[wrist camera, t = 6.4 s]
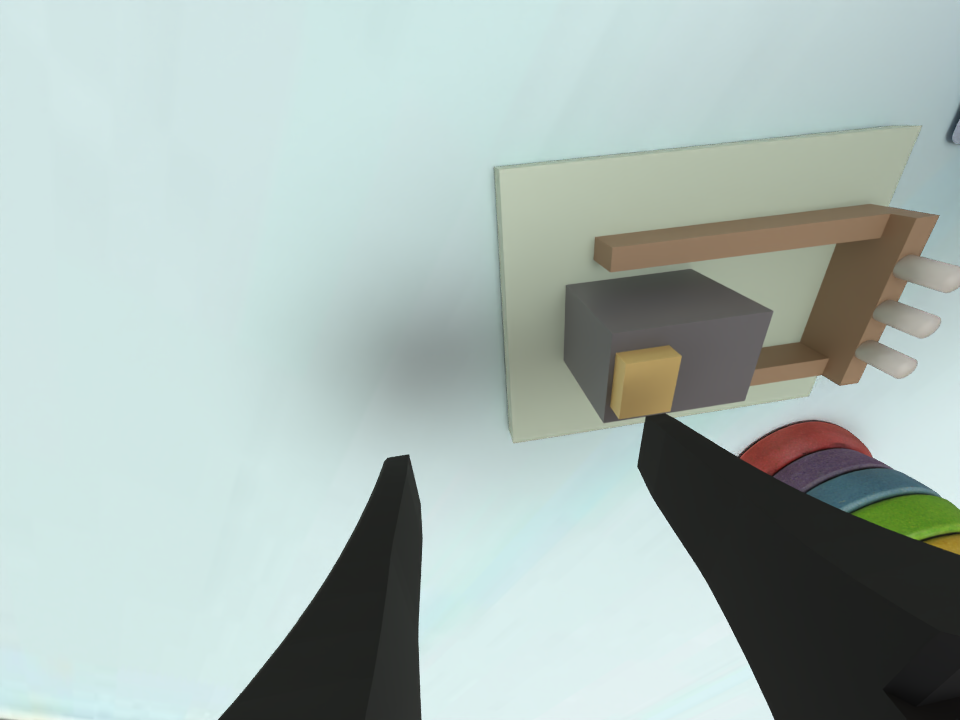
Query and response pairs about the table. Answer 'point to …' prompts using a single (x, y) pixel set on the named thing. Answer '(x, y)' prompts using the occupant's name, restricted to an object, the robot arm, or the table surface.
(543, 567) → the table surface
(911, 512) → the stacking bear
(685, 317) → the plug block
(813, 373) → the board
